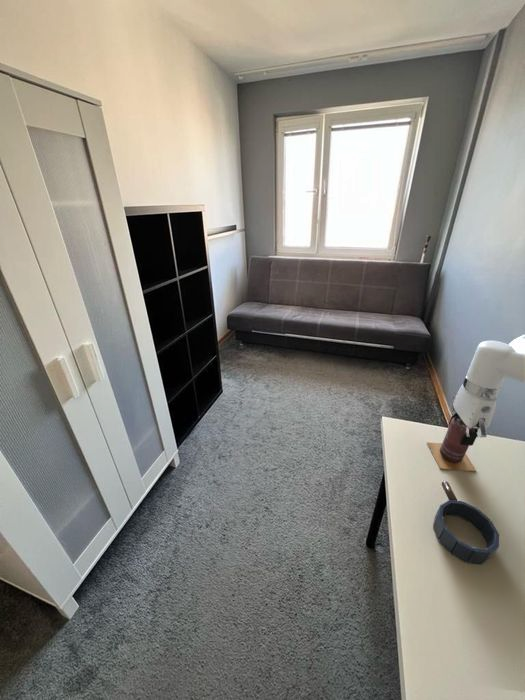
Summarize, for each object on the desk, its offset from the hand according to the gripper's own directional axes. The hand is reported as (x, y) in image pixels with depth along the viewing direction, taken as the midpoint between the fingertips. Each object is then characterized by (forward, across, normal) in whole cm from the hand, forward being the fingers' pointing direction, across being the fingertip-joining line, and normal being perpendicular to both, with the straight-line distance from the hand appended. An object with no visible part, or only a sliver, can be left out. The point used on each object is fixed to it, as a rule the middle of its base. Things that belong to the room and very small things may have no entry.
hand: (459, 434), depth 82 cm
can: (+9, 0, 0) cm, 9 cm away
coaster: (+10, 0, 0) cm, 10 cm away
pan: (+10, -21, +8) cm, 24 cm away
